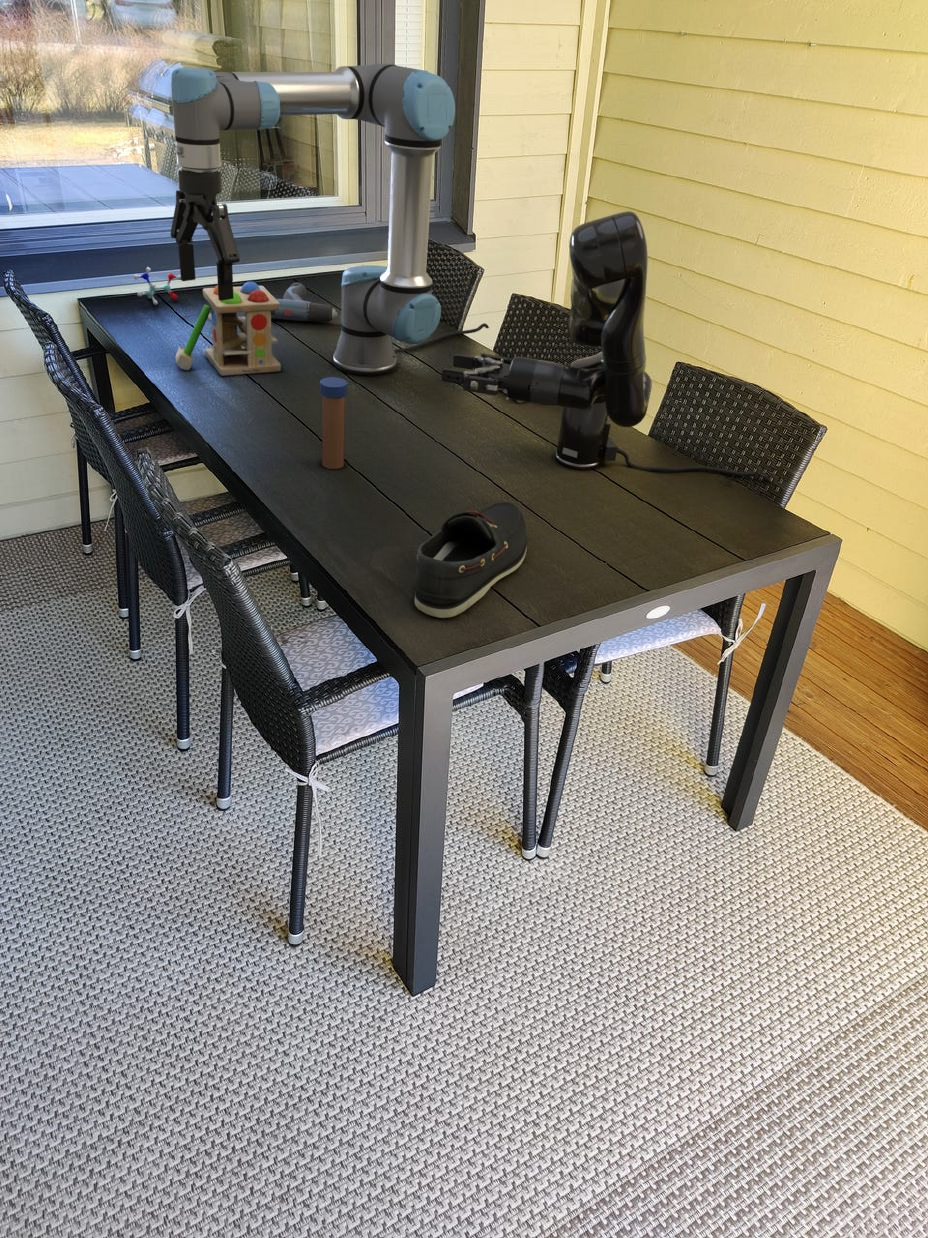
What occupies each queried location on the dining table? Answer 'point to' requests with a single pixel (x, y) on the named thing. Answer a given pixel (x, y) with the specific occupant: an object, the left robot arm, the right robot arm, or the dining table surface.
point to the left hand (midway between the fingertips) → (206, 289)
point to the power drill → (301, 307)
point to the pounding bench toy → (229, 347)
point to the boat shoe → (468, 558)
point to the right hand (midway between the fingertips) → (448, 367)
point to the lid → (333, 387)
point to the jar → (333, 432)
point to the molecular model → (154, 288)
